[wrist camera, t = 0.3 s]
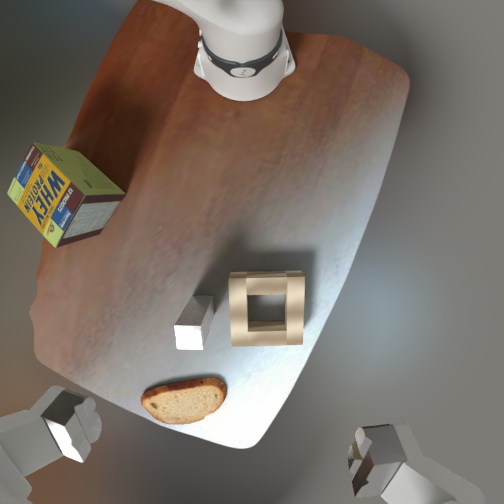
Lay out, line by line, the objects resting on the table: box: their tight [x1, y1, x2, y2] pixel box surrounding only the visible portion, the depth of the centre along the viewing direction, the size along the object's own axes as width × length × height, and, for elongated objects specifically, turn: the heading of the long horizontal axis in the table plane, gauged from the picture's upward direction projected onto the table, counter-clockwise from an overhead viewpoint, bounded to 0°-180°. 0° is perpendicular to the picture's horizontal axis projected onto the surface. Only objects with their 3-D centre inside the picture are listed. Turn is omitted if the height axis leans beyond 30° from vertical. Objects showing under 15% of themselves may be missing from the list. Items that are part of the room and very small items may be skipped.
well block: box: [228, 270, 305, 346], centre depth 55 cm, size 13×13×4 cm
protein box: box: [8, 143, 126, 248], centre depth 45 cm, size 10×15×16 cm
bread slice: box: [141, 377, 227, 424], centre depth 60 cm, size 18×18×4 cm
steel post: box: [174, 295, 214, 350], centre depth 50 cm, size 4×4×14 cm
